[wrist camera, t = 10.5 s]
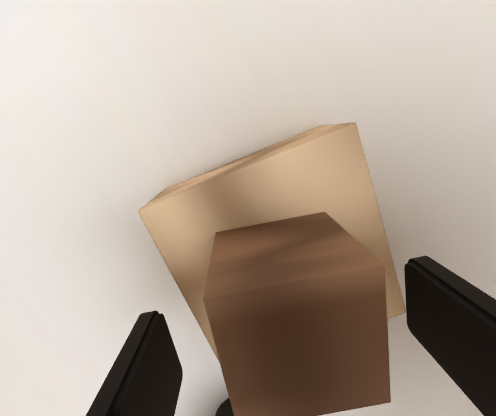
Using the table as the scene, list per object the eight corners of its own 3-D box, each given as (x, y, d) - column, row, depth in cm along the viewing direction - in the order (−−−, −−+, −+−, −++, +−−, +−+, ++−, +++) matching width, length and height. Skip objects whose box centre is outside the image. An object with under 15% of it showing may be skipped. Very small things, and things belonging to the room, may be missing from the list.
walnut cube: (324, 211, 12) (384, 264, 7) (334, 305, 13) (390, 402, 9) (215, 232, 12) (202, 298, 7) (237, 323, 13) (238, 430, 9)
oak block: (319, 125, 16) (355, 122, 11) (361, 265, 18) (406, 312, 14) (166, 188, 16) (137, 210, 12) (229, 314, 19) (226, 376, 14)
